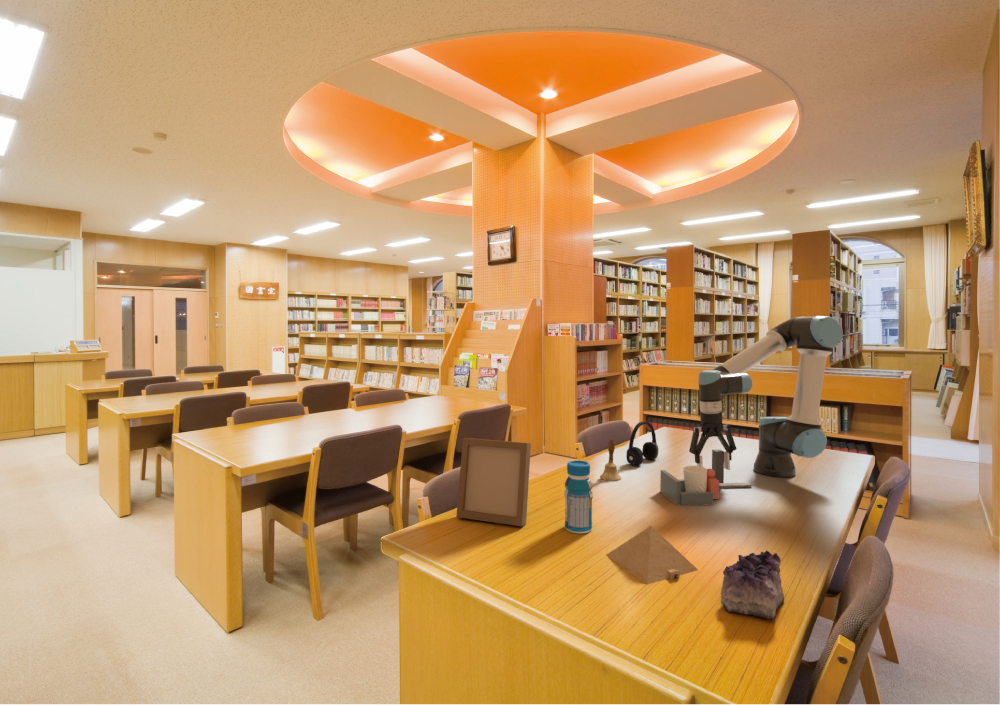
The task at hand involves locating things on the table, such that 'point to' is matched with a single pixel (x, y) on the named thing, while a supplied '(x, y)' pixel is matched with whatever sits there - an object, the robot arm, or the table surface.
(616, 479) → the hand bell
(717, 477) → the striker slider
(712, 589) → the table surface
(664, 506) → the table surface
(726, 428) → the robot arm
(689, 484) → the white cup
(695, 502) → the frame
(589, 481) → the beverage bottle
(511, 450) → the photo frame
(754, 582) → the geode
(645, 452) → the headphones
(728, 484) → the rail
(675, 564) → the model pyramid
